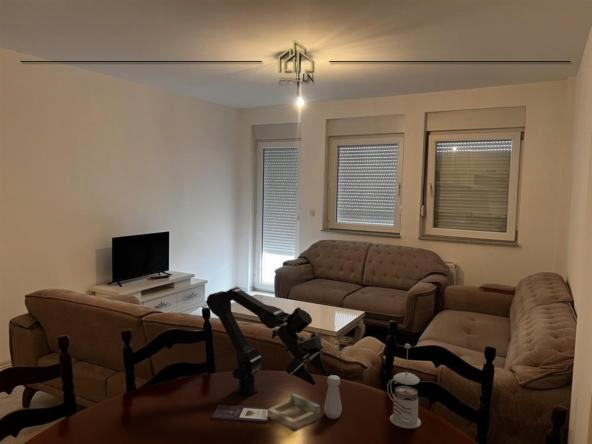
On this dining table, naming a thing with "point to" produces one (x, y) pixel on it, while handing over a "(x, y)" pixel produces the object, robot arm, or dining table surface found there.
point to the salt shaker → (333, 398)
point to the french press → (410, 413)
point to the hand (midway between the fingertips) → (320, 379)
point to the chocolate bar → (241, 413)
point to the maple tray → (295, 412)
